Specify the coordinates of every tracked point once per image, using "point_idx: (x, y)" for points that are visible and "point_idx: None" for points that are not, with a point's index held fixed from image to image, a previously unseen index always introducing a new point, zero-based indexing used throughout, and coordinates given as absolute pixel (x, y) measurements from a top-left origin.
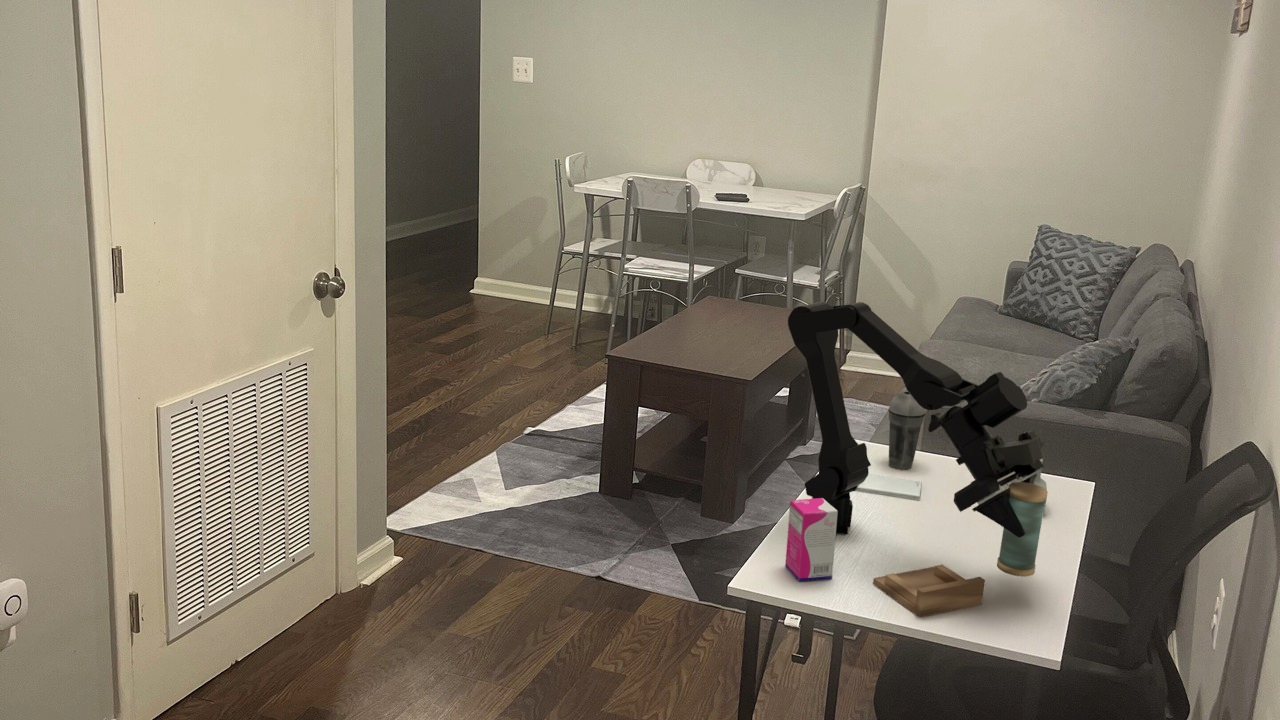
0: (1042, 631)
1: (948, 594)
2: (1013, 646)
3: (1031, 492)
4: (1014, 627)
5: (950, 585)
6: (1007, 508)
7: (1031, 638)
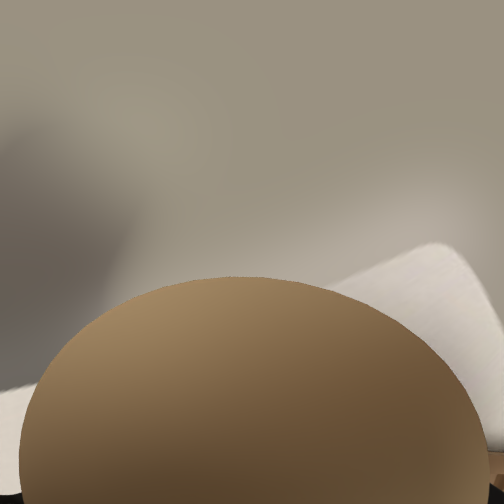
0: (383, 289)
1: (488, 453)
2: (473, 291)
3: (328, 453)
4: (417, 333)
5: (489, 461)
6: (490, 484)
7: (425, 288)
